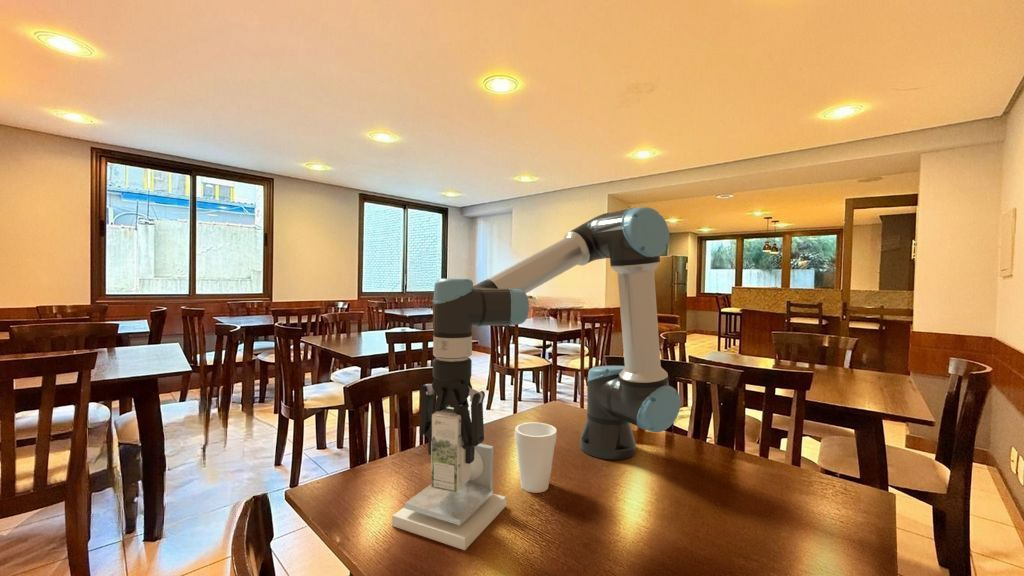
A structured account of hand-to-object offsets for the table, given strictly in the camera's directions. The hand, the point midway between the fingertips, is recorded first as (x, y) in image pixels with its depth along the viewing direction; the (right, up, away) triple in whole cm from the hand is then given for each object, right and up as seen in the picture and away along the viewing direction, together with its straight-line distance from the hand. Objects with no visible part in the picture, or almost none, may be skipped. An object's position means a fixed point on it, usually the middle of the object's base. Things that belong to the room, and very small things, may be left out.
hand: (450, 474), depth 84 cm
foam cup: (+17, -9, +14) cm, 24 cm away
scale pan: (0, -5, 0) cm, 5 cm away
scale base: (0, -8, +1) cm, 9 cm away
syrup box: (0, -2, 0) cm, 2 cm away
